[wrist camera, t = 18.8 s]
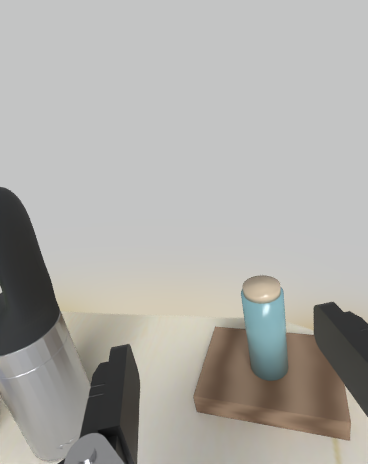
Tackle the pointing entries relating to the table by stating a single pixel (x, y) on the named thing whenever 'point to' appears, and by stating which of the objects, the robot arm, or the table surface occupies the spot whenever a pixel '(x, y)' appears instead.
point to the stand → (273, 387)
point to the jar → (265, 327)
